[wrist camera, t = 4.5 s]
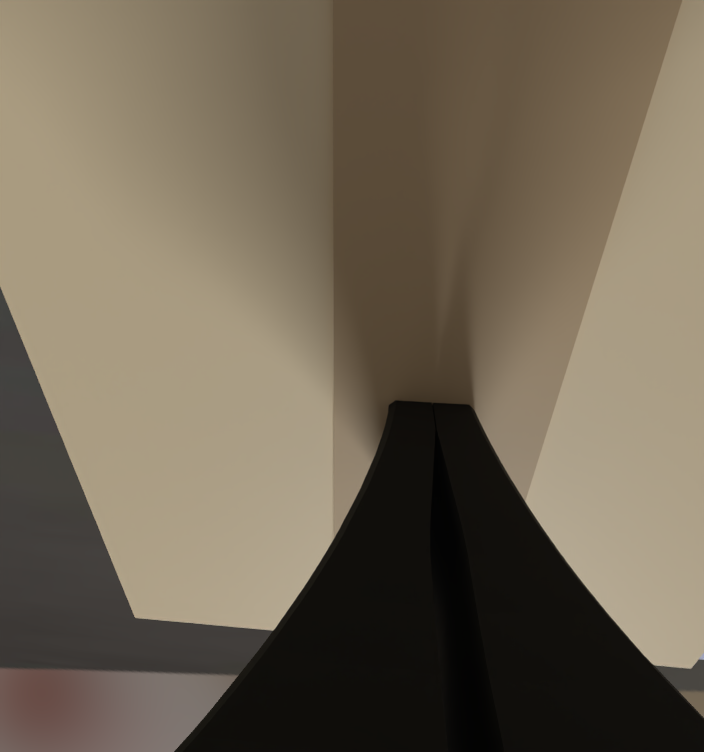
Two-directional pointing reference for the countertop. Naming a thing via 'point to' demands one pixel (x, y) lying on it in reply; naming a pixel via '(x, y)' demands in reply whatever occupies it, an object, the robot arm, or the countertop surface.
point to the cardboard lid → (363, 276)
